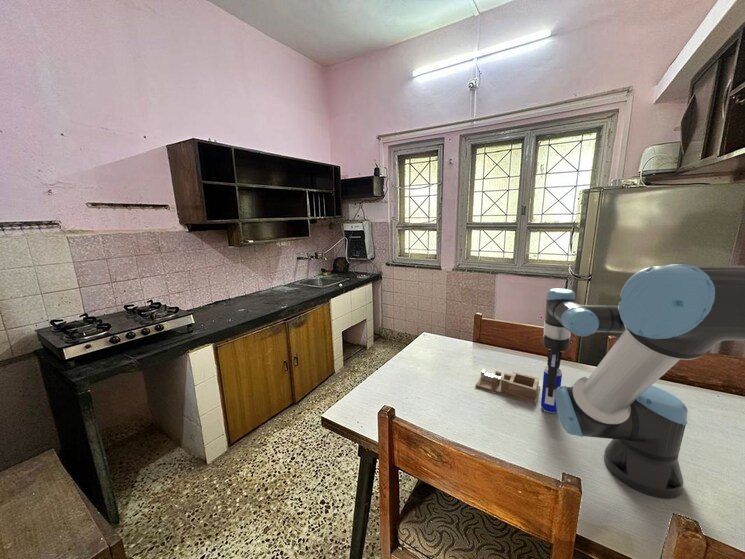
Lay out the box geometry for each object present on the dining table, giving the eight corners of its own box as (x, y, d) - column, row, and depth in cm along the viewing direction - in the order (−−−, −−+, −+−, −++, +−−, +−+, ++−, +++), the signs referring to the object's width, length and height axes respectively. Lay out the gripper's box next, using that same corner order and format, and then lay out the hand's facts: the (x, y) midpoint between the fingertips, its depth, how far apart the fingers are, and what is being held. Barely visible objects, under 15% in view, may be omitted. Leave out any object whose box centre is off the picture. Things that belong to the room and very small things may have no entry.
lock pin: (499, 384, 115) (499, 377, 115) (480, 379, 119) (481, 372, 119) (500, 381, 118) (501, 373, 117) (482, 376, 122) (483, 369, 121)
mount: (535, 405, 104) (536, 392, 103) (475, 387, 116) (476, 375, 115) (539, 388, 114) (541, 376, 113) (483, 373, 126) (484, 362, 125)
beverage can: (553, 404, 104) (557, 365, 101) (561, 414, 99) (565, 373, 96) (537, 404, 105) (541, 365, 101) (544, 413, 100) (548, 373, 96)
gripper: (569, 348, 87) (561, 418, 92) (571, 328, 101) (564, 389, 106) (540, 343, 91) (534, 409, 96) (546, 324, 105) (540, 383, 110)
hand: (550, 399), depth 101 cm, fingers closed on beverage can, 5 cm apart
